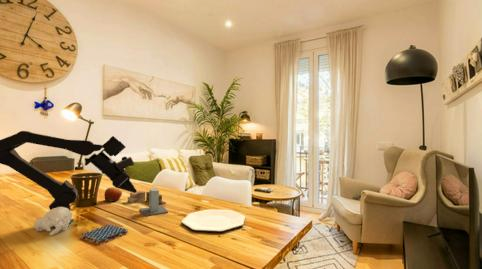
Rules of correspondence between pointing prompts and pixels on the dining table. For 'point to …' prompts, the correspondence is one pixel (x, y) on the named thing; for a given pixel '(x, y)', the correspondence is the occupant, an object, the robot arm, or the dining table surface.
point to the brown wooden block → (159, 198)
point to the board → (154, 200)
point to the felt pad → (147, 212)
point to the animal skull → (54, 220)
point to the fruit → (112, 194)
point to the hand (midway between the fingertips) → (134, 189)
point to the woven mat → (104, 234)
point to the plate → (213, 220)
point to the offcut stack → (136, 197)
